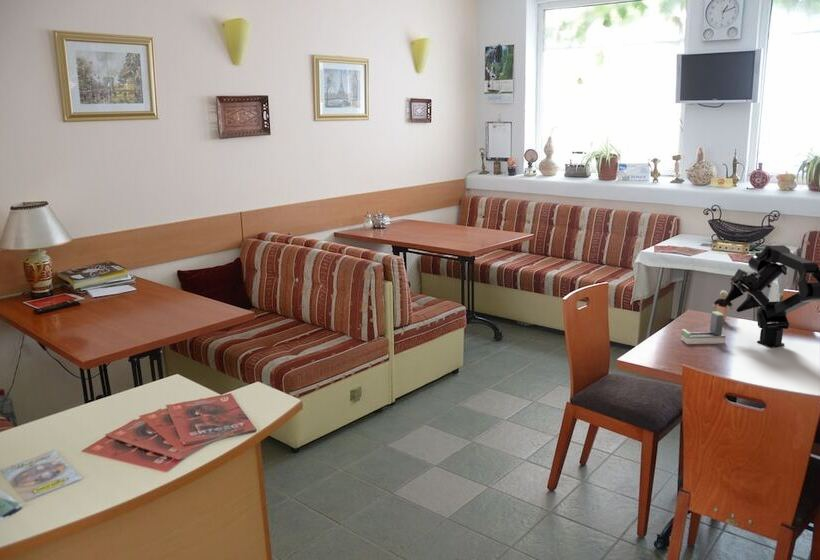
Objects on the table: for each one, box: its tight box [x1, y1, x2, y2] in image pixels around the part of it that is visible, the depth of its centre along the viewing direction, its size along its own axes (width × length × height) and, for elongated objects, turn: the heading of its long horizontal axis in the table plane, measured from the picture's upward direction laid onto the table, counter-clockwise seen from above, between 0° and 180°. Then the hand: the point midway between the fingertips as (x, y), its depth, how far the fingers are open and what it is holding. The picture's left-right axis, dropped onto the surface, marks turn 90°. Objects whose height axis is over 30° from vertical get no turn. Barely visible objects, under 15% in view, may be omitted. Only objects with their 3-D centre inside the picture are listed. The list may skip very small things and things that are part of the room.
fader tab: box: [709, 310, 724, 335], centre depth 251 cm, size 3×4×8 cm
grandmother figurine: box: [711, 289, 734, 323], centre depth 275 cm, size 8×4×13 cm, turn 68°
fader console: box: [680, 328, 726, 345], centre depth 252 cm, size 14×5×4 cm, turn 93°
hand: (730, 306), depth 252 cm, fingers open, 9 cm apart
